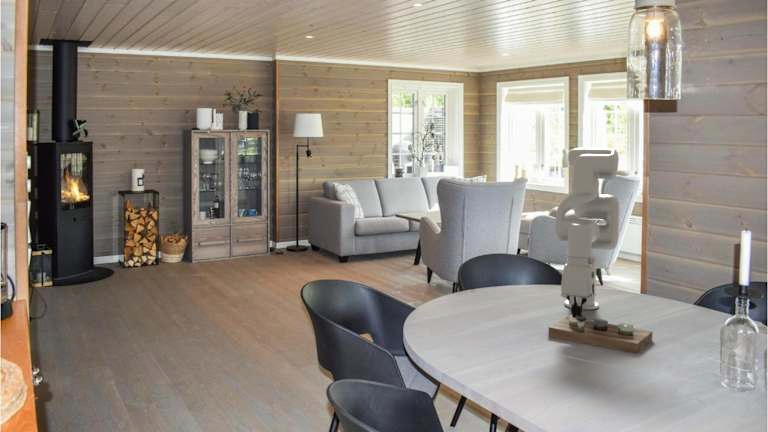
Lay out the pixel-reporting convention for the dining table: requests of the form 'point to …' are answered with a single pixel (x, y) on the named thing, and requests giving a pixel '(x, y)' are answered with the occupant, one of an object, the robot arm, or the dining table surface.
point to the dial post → (581, 322)
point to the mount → (602, 336)
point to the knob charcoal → (600, 324)
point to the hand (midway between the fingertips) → (576, 316)
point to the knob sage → (625, 329)
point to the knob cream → (573, 321)
